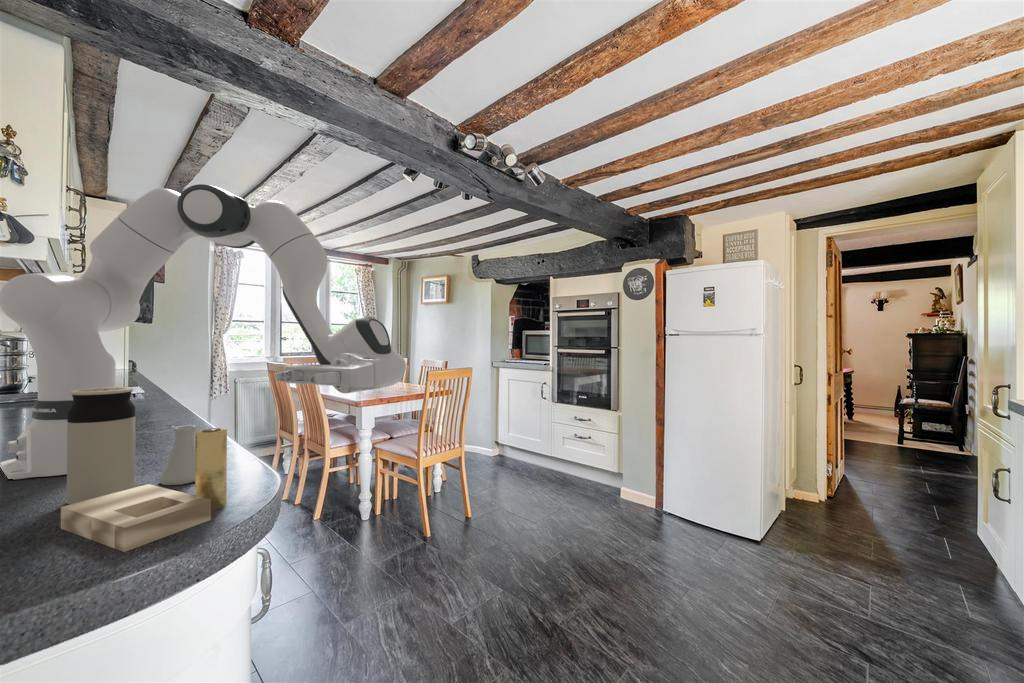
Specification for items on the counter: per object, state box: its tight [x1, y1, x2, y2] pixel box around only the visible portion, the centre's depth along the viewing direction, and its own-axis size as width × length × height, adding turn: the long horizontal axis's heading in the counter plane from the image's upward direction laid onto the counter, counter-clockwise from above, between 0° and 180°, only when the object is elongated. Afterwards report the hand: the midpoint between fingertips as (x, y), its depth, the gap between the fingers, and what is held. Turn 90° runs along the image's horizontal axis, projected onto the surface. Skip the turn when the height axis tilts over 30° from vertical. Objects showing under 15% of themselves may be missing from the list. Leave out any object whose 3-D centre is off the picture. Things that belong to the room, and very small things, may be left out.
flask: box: [157, 424, 197, 486], centre depth 77 cm, size 7×7×10 cm
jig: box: [60, 483, 212, 553], centre depth 58 cm, size 16×10×3 cm, turn 67°
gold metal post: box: [194, 427, 228, 512], centre depth 64 cm, size 4×4×12 cm
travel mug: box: [66, 386, 136, 505], centre depth 68 cm, size 8×8×18 cm
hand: (295, 377), depth 78 cm, fingers open, 8 cm apart
